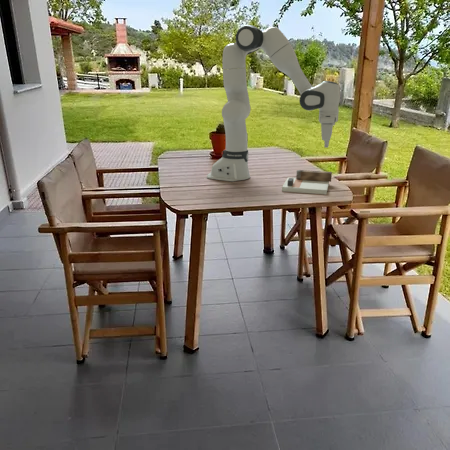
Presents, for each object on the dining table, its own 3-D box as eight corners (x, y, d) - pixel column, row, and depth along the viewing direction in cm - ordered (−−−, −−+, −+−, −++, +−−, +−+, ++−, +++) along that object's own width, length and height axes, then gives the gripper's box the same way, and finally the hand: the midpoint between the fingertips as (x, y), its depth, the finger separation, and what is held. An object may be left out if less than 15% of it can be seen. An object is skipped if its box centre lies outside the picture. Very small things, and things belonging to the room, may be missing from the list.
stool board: (281, 191, 187) (282, 181, 185) (287, 181, 203) (288, 172, 201) (326, 194, 181) (327, 184, 180) (328, 184, 198) (329, 175, 196)
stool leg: (295, 179, 198) (296, 171, 196) (296, 177, 201) (297, 169, 199) (330, 181, 193) (331, 173, 192) (331, 180, 196) (331, 171, 195)
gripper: (323, 115, 201) (321, 143, 206) (319, 119, 183) (318, 150, 188) (336, 115, 199) (334, 143, 204) (334, 120, 181) (332, 151, 186)
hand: (326, 147), depth 196 cm, fingers closed
